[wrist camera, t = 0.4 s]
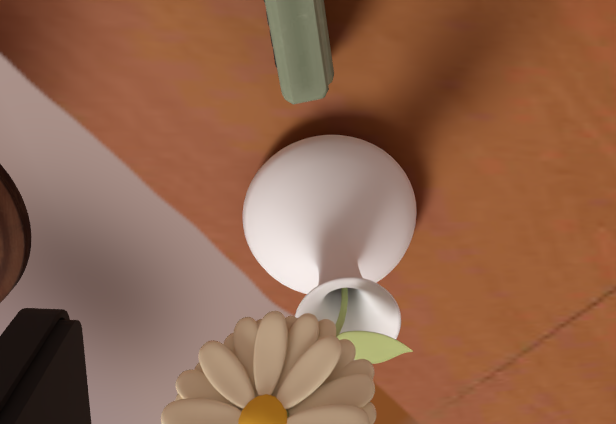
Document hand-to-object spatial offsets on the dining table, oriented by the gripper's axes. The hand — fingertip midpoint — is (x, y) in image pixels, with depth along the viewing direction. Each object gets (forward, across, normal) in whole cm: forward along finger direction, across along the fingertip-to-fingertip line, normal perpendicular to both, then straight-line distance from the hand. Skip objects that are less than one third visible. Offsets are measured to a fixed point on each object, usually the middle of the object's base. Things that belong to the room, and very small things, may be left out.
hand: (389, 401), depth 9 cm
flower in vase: (+30, -1, +9) cm, 32 cm away
